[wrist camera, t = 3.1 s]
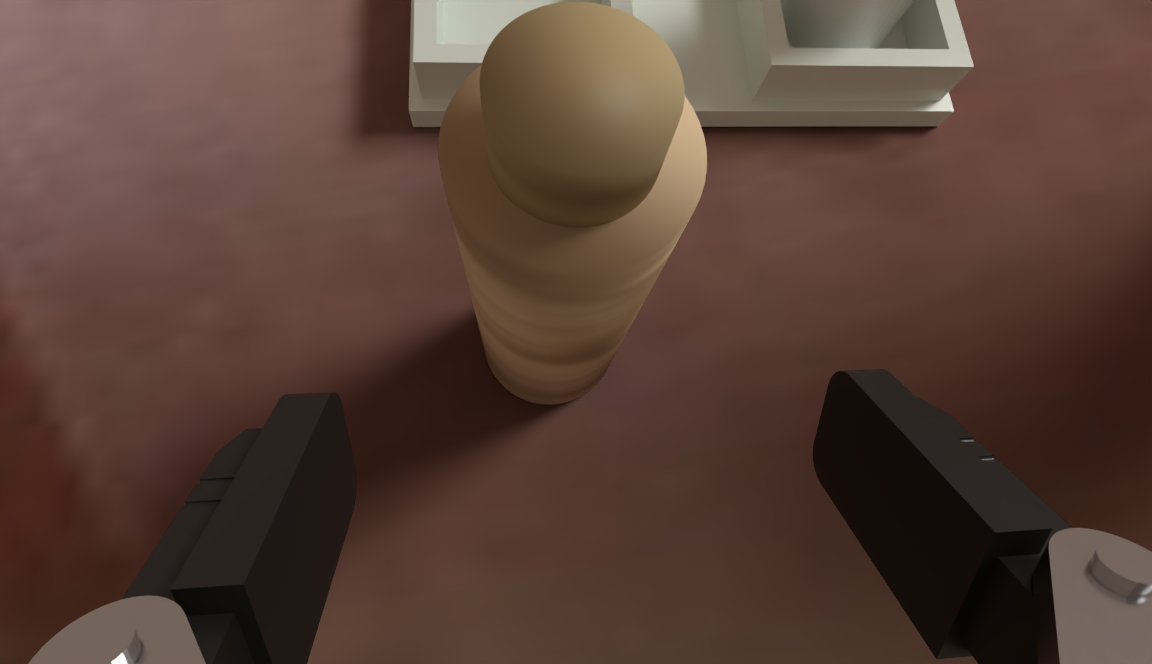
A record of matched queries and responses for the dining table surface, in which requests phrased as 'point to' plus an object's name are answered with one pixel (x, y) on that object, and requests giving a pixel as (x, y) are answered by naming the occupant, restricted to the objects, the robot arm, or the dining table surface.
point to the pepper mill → (568, 189)
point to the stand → (727, 61)
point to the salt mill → (841, 22)
